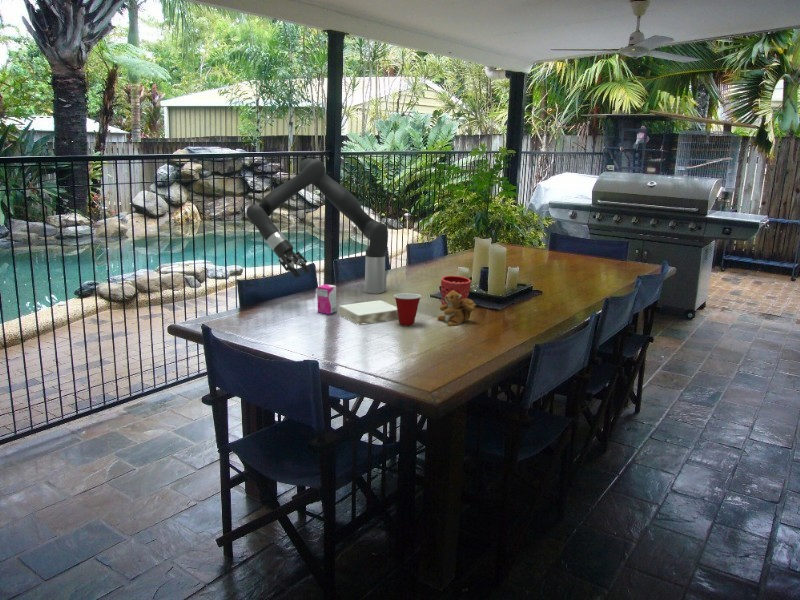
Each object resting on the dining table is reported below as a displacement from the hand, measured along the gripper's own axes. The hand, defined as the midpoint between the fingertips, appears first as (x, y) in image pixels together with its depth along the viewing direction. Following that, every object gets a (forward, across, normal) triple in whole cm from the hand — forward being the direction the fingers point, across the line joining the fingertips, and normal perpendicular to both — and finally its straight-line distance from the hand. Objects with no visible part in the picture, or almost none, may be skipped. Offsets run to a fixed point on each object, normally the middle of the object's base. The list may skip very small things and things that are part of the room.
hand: (303, 274), depth 272 cm
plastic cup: (+43, +1, -22) cm, 48 cm away
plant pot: (+49, +39, -28) cm, 69 cm away
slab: (+31, +3, -10) cm, 33 cm away
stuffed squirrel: (+55, +14, -34) cm, 66 cm away
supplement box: (+18, 0, +3) cm, 19 cm away
